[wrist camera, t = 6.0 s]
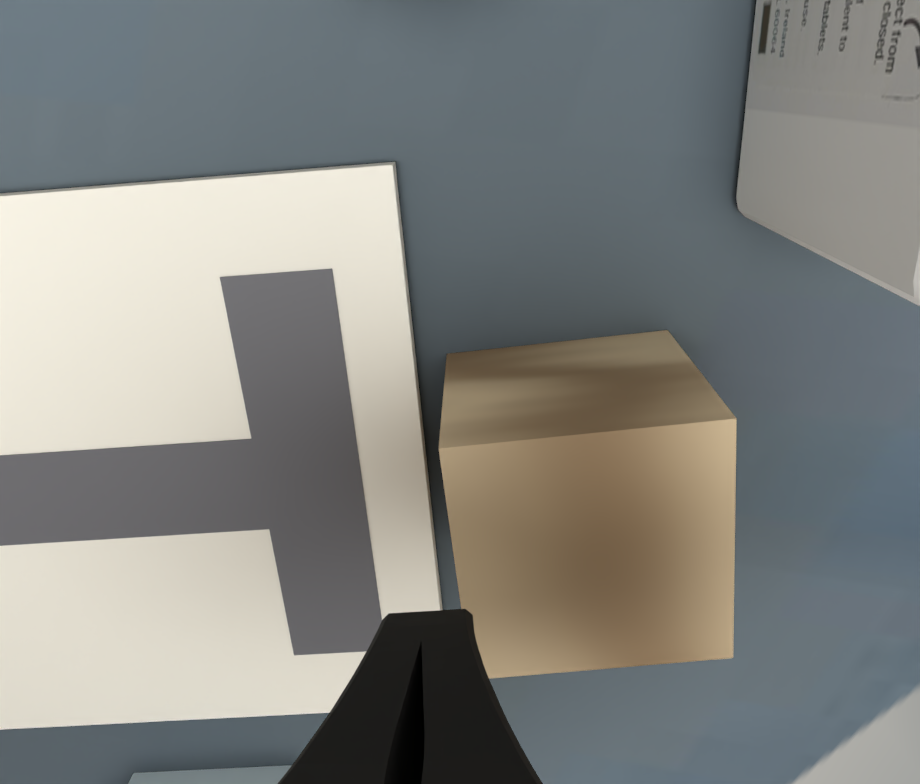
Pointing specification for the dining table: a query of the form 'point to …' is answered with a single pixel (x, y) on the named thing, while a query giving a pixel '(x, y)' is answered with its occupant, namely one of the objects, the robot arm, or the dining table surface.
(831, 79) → the container
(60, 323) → the letter card
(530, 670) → the oak block
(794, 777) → the dining table surface
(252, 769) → the pale blue cube
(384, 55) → the dining table surface
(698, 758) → the dining table surface
